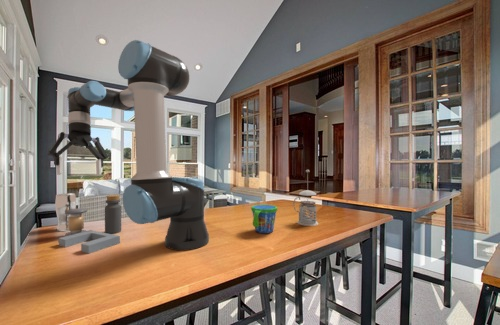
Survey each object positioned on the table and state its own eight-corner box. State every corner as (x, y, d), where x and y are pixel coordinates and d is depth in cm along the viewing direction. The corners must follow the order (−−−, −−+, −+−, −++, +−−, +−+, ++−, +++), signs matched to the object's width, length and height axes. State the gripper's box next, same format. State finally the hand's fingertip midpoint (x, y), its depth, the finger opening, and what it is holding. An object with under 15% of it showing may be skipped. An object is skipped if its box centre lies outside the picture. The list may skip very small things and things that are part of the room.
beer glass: (51, 230, 98) (51, 195, 98) (69, 226, 104) (69, 192, 104) (62, 232, 95) (61, 195, 95) (79, 228, 101) (79, 193, 101)
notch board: (119, 242, 83) (119, 235, 83) (88, 253, 73) (88, 245, 73) (90, 236, 90) (90, 230, 90) (58, 245, 80) (58, 238, 80)
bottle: (113, 234, 92) (113, 196, 92) (101, 233, 93) (101, 196, 93) (124, 230, 98) (124, 194, 98) (112, 229, 99) (112, 194, 99)
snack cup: (263, 224, 106) (263, 202, 106) (284, 228, 100) (284, 205, 100) (242, 233, 93) (242, 208, 93) (264, 238, 87) (264, 211, 87)
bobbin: (91, 234, 93) (90, 209, 93) (71, 239, 87) (71, 212, 87) (80, 231, 96) (80, 207, 96) (60, 236, 90) (60, 210, 90)
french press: (321, 225, 104) (321, 170, 104) (295, 225, 104) (295, 170, 104) (315, 220, 114) (315, 169, 114) (291, 220, 114) (291, 169, 114)
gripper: (106, 132, 110) (108, 176, 106) (37, 120, 89) (36, 175, 85) (115, 127, 106) (117, 173, 102) (44, 114, 85) (43, 171, 81)
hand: (80, 174), depth 93 cm, fingers open, 13 cm apart
